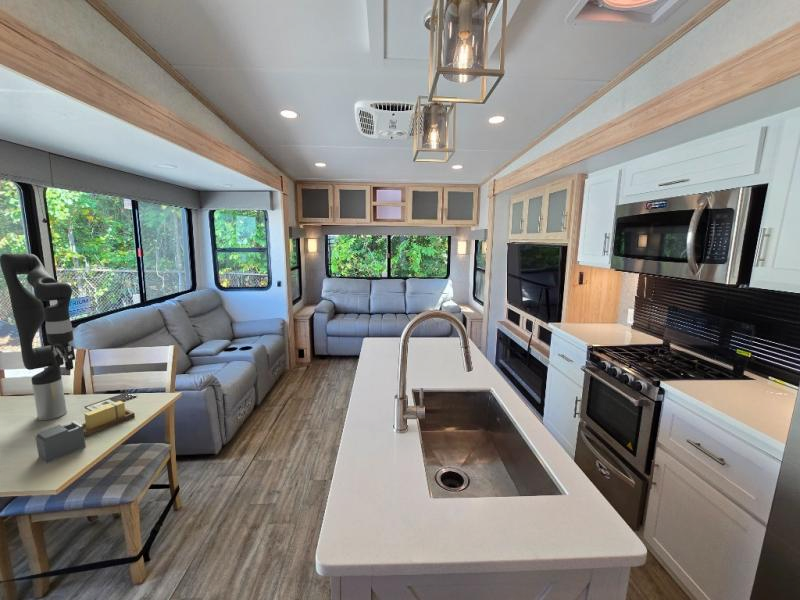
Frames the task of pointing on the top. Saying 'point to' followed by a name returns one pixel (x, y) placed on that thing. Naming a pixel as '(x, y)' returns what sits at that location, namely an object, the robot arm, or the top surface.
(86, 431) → the tray
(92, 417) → the grey-banded yellow bar
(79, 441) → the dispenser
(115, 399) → the chocolate bar
